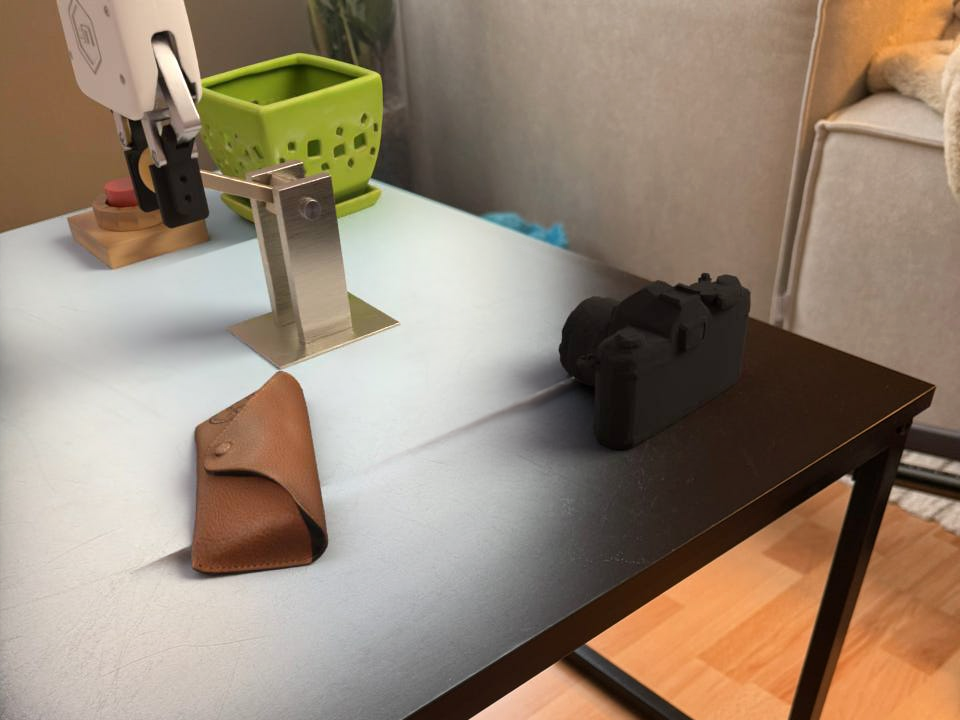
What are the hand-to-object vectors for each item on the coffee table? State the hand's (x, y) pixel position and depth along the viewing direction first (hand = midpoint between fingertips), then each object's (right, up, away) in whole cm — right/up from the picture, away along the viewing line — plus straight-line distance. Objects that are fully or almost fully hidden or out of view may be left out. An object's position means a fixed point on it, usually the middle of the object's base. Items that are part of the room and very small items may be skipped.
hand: (174, 211), depth 70 cm
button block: (-12, +10, +29) cm, 33 cm away
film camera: (+33, -12, +4) cm, 35 cm away
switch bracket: (+8, -5, +12) cm, 15 cm away
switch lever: (+3, +1, +2) cm, 4 cm away
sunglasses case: (+6, -20, -3) cm, 21 cm away
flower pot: (+3, +13, +32) cm, 35 cm away
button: (-12, +12, +27) cm, 32 cm away
